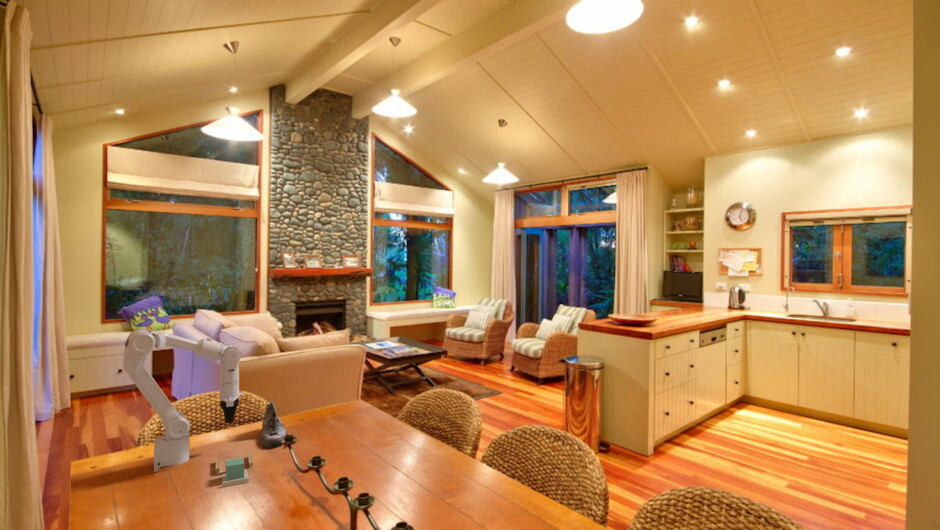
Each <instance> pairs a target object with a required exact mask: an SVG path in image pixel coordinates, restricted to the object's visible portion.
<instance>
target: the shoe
mask: <svg viewBox="0 0 940 530" xmlns="http://www.w3.org/2000/svg"><path fill="white" fill-rule="evenodd" d="M265 405H266V408H265V414H264V415H263V419H262V423H261V429H262V430H261V438H260V445H261V447H262V448H264V449H277V448H280V447H282V446H283V445H282V443H281V441H282V440H283V438H284V437H285V436H286V435H288V432H287V430H286V428H285V423H283V422H282V421H281V418H280V417H279V416H278V414H277V412H276V406H275V404H274V400H271V401H270V402H269V403H268V402H267V400H265ZM277 411H280V412H281V408H278V409H277Z"/></svg>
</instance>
